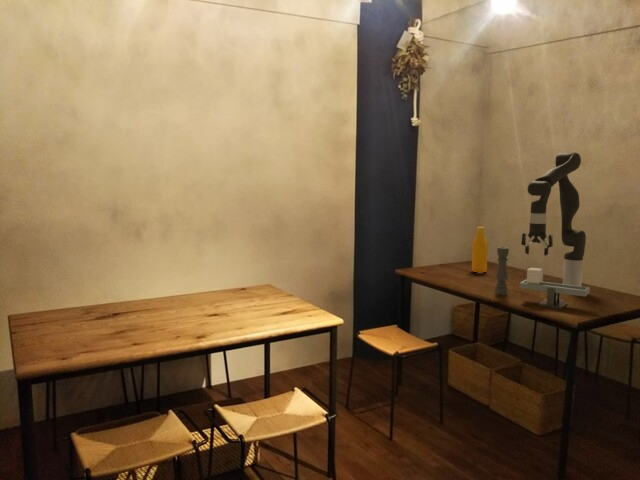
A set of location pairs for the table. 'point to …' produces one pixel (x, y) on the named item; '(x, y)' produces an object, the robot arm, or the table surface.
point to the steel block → (535, 276)
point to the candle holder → (502, 271)
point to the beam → (557, 288)
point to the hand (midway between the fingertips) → (536, 254)
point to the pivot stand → (553, 300)
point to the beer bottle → (479, 251)
